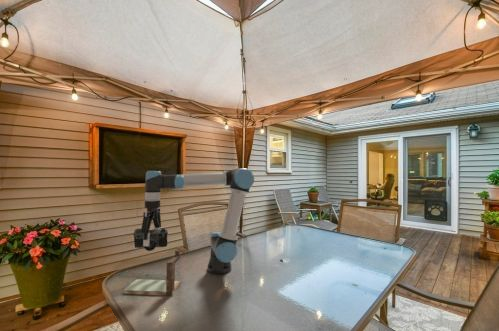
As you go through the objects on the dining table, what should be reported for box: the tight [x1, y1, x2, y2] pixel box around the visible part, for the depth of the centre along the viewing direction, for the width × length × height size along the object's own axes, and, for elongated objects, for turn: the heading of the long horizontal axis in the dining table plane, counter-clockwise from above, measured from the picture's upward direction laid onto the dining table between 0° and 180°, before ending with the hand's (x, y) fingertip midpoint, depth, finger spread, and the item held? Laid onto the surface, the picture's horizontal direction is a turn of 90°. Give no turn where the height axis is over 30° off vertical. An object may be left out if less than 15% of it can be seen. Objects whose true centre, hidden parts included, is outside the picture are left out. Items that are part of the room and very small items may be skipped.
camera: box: [132, 227, 169, 252], centre depth 119 cm, size 18×9×10 cm, turn 101°
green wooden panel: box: [123, 249, 182, 297], centre depth 118 cm, size 25×12×18 cm, turn 87°
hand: (151, 242), depth 119 cm, fingers closed on camera, 10 cm apart
